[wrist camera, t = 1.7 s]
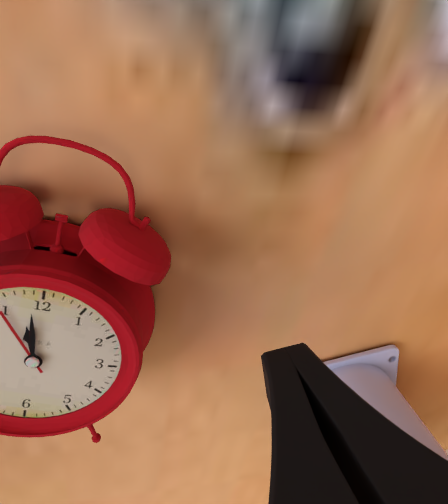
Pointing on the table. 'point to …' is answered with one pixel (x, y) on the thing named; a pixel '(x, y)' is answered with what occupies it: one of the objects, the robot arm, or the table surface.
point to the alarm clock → (72, 308)
